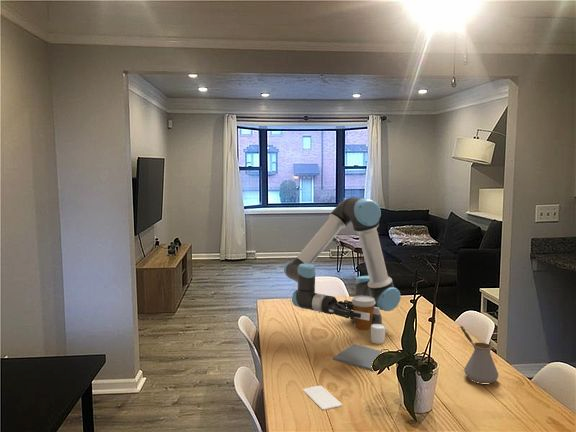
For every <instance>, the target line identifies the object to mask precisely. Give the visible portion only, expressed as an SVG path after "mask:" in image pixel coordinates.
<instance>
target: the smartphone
mask: <svg viewBox="0 0 576 432" xmlns="http://www.w3.org/2000/svg"><path fill="white" fill-rule="evenodd" d="M302 390H303V392H304V393H305V394H306V395H307V396H308V397H309V398H310V399H311V400H312V401H313V402H314V404H316V405H317V406H318V407H319V409H321V410H322V411H327V410H331V409H336V408H341V407H342V406H343V404H342V402H340V401H339V400H338V399H337V398H336V397H335V396H334V395H332V394H331V392H329V391H328V390H327V389H326V388H325V387H324V386H323V385H315V386H310V387H305V388H303V389H302Z"/></svg>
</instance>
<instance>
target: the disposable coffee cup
mask: <svg viewBox="0 0 576 432" xmlns="http://www.w3.org/2000/svg"><path fill="white" fill-rule="evenodd" d="M351 301H352V304H353V310H352V311H353V312H354V310H356V311H360V312H365V313H370V320H369V321H368V320H363V319H359V318H354V321H355V324H354V328H355V329H356V330H359V331H369V330H371V324H372V317H373V311H374V305H375V303H376V302H375V299H374V298H373V297H369V296H353V297H352V300H351Z"/></svg>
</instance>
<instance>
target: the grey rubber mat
mask: <svg viewBox="0 0 576 432" xmlns="http://www.w3.org/2000/svg"><path fill="white" fill-rule="evenodd" d="M382 352H385V351H383V350H379V349H375V348H372V347H368V346H364V345H359V344H355V343H352V344H351V345H350V346H349V347H347V348H345V349H344V350H342V351H340V352H339V353H338V354H336V355H334V356H333V357H332V360H334V361H337V362H339V363H340V362H341V363H345V364H348V365H351V366H355V367H359V368H362V369H365V370H368V371H371V370H372V367H371V366H372V362H373V361H374V359H375V358H376V357H377V356H378V355H379V354H380V353H382Z"/></svg>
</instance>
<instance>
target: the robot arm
mask: <svg viewBox="0 0 576 432" xmlns="http://www.w3.org/2000/svg"><path fill="white" fill-rule="evenodd" d="M381 212H382V211H381V208H380V205H379V204H378V203H377V202H376V201H374V200H373V199H369V198H365V197H364V198H363V197H362V198H361V197H355V196H354V197H347V198H345V199H344V200H342V201H341V202H340V203H338V204H337V206H336V207H334V209H333V210H332V211H331V212H330V213H329V216H328V217H329V218H328V219H327V220H326V222H325V223H324V224H323V225H322V226H321V228H319V230H318V231H317V232H316V233H315V235H314V236H313V237H312V238H311V239H310V241H309V242H308V243H307V244H306V245H305V246H304V248H303V249H302V250H301V251H300V252H299V254H298V255H297V256H296V257H295V258H294V259H293V260H292V261H288V262H287V263H285V265H284V267H283V273H284V275H285V276H286V277H287V278H289V279H290V280H292V281H294V282H295V283H297V289H296V290H294V292H293V293H292V297H291V302H292V305H294V306H295V307H297V308H301V309H303V310H305V309H306V310H310V311H314V312H318V313H319V314H320V313H324V314H328V315H335V316H339V317H342V318H345V319H350V320H351V323H353V324H354V325H355V321H354V318H359V319H363V320H368V321H369V320H370V313H365V312H360V311H356V310H354V312H353V304H352V300H347V299H344V300H339V301H338V300H337V298H336V296H333V295H327V294H322V293H318V292H316V274H317V273H316V267H315V264H313V263H314V262H315V261H316V260H317V258H318V257H319V256H320V255H321V254H322V253H323V252H324V251H325V249H326V248H327V246H328V245H329V244H330V243H331V242H332V241H333V239H334V238H335V237H336V236H337V235H338V234H339V233H340V231H341V230H342V229H345V228H346V227H347V226H348V225H350V224H352V228H353V231H354V232H356V233H357V234H358V239H359V243H360V246H361V250H362V254H363V258H364V259H363V260H364V262H365V266H366V270H367V275H361V276H357V277H356V279H355V283H354V285H355V290H354V291H355V292H354V294H355V296H369V297H373V298H374V299H375V302H376V303H375V305H374V311H373V317H372V324H382V323H383V317H382V314H381V311H384V312H391V311H393V310H395V309H396V308H397V307H398V305H399V303H400V302H401V298H402V297H401V292H400V290H399V289H398V288H397V287H395V285H394V282H393V279H392V277H390V276H389V275H388V271H387V267H386V264H385V258H384V254H383V250H382V246H381V241H380V238H379V232H378V230H377V229H378V228H379V226H380V223H379V222H380V218H381V216H382V213H381ZM355 296H354V297H355ZM372 324H371V325H372Z"/></svg>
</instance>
